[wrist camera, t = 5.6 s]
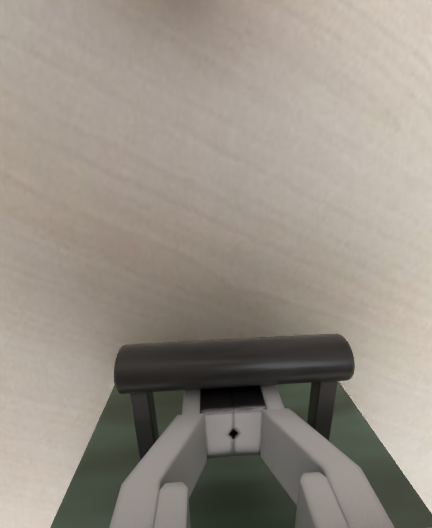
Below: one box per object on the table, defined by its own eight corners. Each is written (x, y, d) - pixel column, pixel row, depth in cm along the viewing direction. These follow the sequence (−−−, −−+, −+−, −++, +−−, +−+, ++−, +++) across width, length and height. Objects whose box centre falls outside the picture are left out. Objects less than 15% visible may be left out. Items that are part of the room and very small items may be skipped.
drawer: (100, 294, 11) (-39, 436, 5) (340, 283, 12) (510, 400, 5) (145, 539, 17) (108, 761, 10) (308, 525, 17) (371, 729, 11)
